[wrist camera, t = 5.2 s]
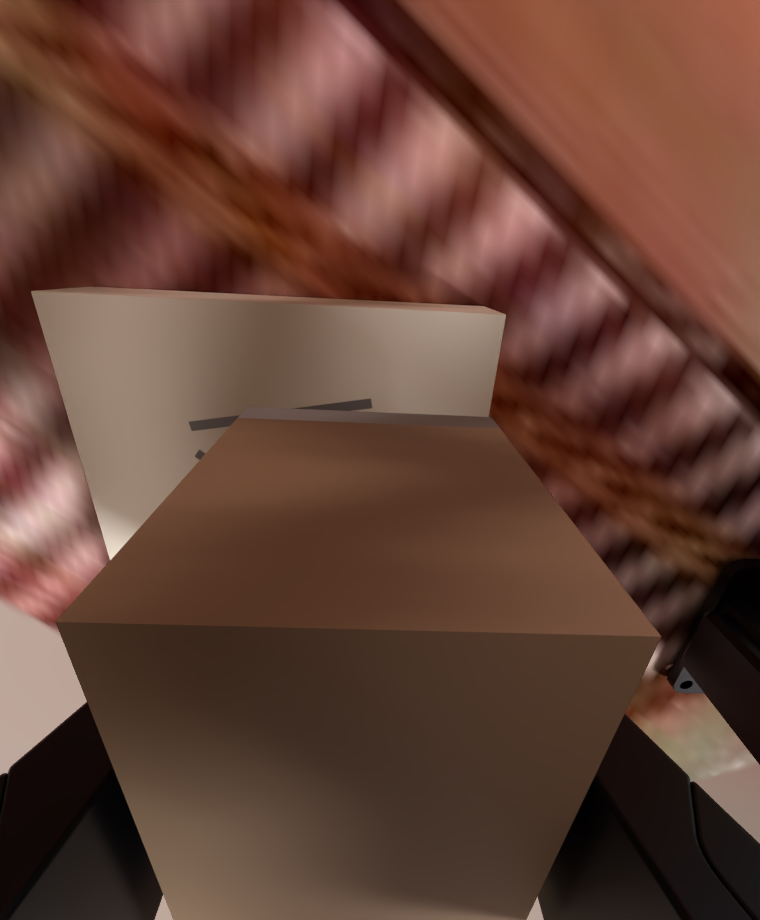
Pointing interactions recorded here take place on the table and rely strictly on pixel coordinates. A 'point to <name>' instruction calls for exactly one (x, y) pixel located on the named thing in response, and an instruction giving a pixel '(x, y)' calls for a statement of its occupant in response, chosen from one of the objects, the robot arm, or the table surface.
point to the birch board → (241, 374)
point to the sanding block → (356, 671)
